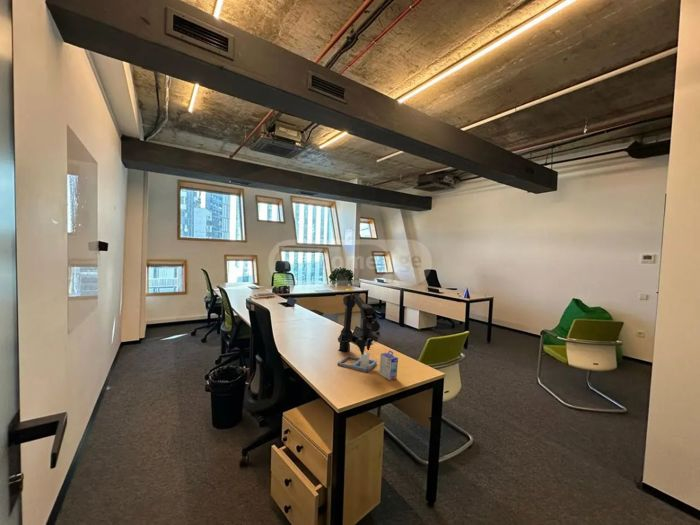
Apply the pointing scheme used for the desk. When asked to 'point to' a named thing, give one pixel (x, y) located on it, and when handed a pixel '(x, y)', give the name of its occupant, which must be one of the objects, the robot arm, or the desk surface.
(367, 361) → the cord plug
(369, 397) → the desk surface
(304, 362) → the desk surface
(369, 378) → the desk surface
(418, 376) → the desk surface
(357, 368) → the frame
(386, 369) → the ink cartridge box
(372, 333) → the robot arm
